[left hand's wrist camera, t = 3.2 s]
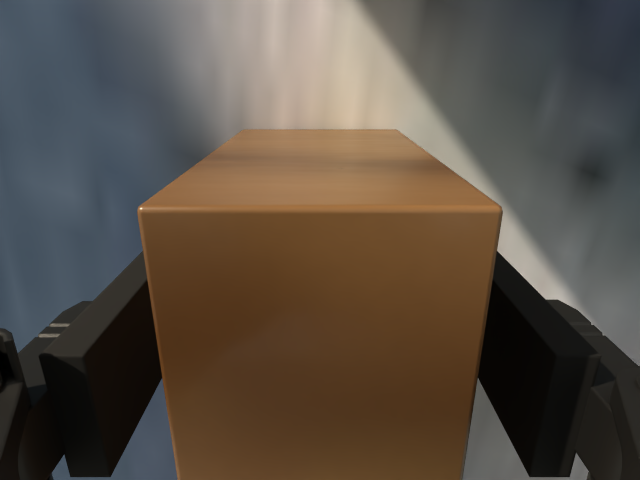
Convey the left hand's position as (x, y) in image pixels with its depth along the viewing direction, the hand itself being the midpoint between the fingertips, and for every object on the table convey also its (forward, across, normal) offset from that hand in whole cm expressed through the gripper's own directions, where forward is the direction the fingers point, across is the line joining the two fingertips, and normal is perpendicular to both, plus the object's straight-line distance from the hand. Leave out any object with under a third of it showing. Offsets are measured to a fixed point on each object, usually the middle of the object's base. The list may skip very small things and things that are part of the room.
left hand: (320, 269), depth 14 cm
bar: (+1, 0, -10) cm, 10 cm away
